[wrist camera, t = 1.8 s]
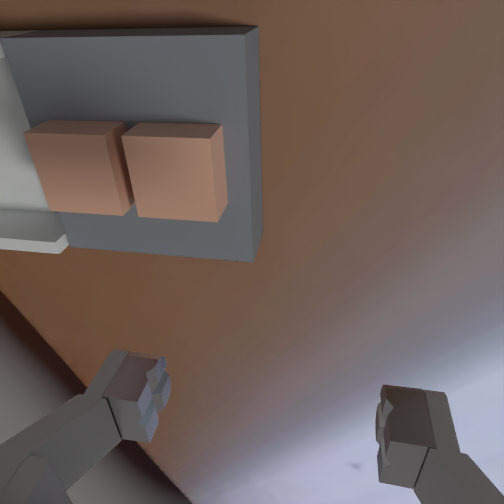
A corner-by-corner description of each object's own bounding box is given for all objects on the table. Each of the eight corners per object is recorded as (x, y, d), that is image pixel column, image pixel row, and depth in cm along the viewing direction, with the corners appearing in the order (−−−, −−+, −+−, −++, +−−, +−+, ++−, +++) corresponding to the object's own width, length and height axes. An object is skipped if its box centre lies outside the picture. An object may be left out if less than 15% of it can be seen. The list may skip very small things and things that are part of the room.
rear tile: (49, 119, 25) (22, 132, 23) (124, 121, 24) (104, 135, 22) (71, 193, 28) (50, 210, 26) (139, 197, 27) (123, 215, 25)
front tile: (140, 122, 24) (121, 135, 22) (222, 124, 23) (210, 138, 21) (154, 198, 27) (138, 216, 25) (228, 202, 26) (217, 222, 24)
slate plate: (43, 30, 26) (0, 38, 23) (258, 26, 24) (244, 34, 20) (96, 220, 34) (70, 246, 31) (262, 232, 31) (253, 262, 28)
